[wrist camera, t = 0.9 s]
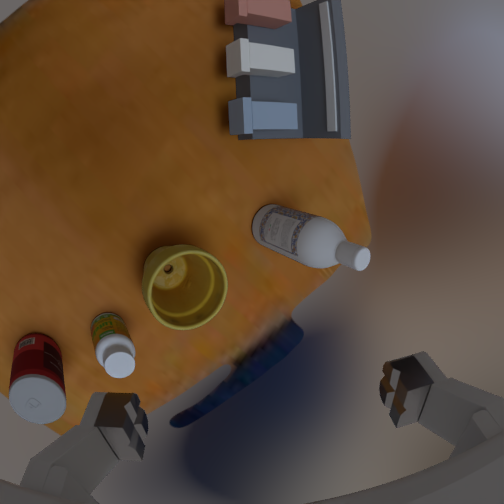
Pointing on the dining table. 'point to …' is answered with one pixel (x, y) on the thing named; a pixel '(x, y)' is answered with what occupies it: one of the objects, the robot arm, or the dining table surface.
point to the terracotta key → (258, 12)
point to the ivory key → (258, 59)
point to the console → (305, 72)
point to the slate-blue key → (260, 116)
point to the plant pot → (183, 286)
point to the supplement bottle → (113, 345)
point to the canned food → (37, 380)
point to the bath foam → (307, 238)
